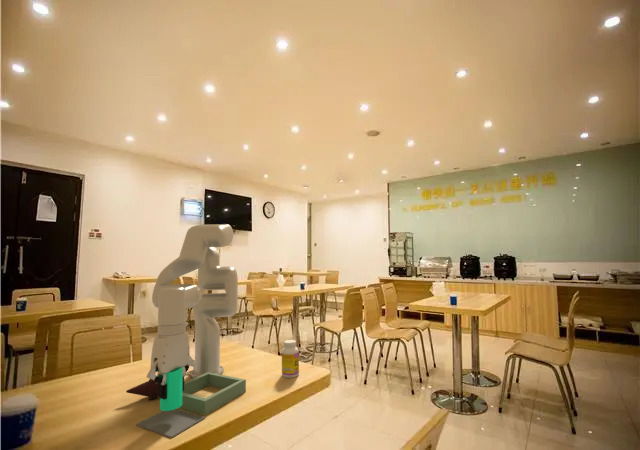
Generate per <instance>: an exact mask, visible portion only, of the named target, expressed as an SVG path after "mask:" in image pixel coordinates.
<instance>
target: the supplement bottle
mask: <svg viewBox="0 0 640 450" xmlns="http://www.w3.org/2000/svg"><path fill="white" fill-rule="evenodd" d="M283 345H284V347H283V348H282V349H281V375H282V377H283V378H287V379H291V378H296V377H298V376H299V374H300V363H299V362H300V358H299V357H300V355H299V352H300V351H299V347H297V341H296V340H295V339H286V340H283Z"/></svg>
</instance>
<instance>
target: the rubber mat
mask: <svg viewBox="0 0 640 450" xmlns="http://www.w3.org/2000/svg"><path fill="white" fill-rule="evenodd" d="M205 418H206V417H205V416H202V415H199V414H196V413H195V414H194V413H192V412H190V411H189V412H188V411H186V410H181V409H180V408H177V409H175V410H170V411H162V410H160V412H158V413H155V414H153V415H151V416H149V417H147V418H145V419H144V420H142V421H140V422H137V423H136V424H135V425H136V427H138V428H139V427H140V428H142V429H145V430H147V431H151V432H153V433H155V434H159V435H161V436H164V437H167V438H169V437H171V438H170V439H173V438H175V437H177V436H178V435H180V434H182V433H183V432H185V431H186V430H188V429H190V428H191V427H193V426H195V425H197V424H199V423H200V422H202V421H204V420H205ZM181 432H182V433H181ZM179 433H180V434H179ZM177 434H178V435H177ZM174 436H175V437H174ZM172 437H173V438H172Z"/></svg>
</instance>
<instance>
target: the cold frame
mask: <svg viewBox="0 0 640 450" xmlns="http://www.w3.org/2000/svg"><path fill="white" fill-rule="evenodd" d="M207 386H209V387H213V388H219V389H220V390H219V391H216V392H215V393H213V394H210V395H208V396H207V397H202V396H198V395H194V394H193V393H195V392H197V391H199V390H202V389H203V388H205V387H207ZM246 392H247V380H246V378H245V379H244V378H239V377H234V376H230V375H225V374H216V373H211V372H207V373H205V374H203V375H200V376H198V377H196V378H192V379H189V380H187V381H184V391H182V406H180V407H179V408H178V409H183V410H184V411H186V410H187V411H189V412H191V413H192V412H193V413H195V414H196V413H197V414H198V415H199V414H200V415H201V416H202V415H203V416H206V415H208V414H210V413H212V412H213V411H215V410H217V409H218V408H220V407H222V406H223V405H225V404H227V403H229V402H231V401H232V400H234V399H235V398H237V397H240V395H242V394H244V393H246Z"/></svg>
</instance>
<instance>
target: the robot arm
mask: <svg viewBox="0 0 640 450" xmlns="http://www.w3.org/2000/svg"><path fill="white" fill-rule="evenodd" d="M233 239H234V230H233V228H232V226H231V225H230V224H227V223H223V224H222V223H221V224H217V223H216V224H209V223H208V224H197V225H193V226H190V228H188V229H187V231H186V234H185V236H184V239H183V244H182V247H181V250H180V253H179V256H178V257H177V258H176V259H174V260H173V261H171V262H170V263H169V264H167V266H165V267H164V268H163V269H162V270H161V271H160V273H159V274H158V276H157V279H156V281H155V284H154V287H153V290H152V295H151V303H152V304H153V306H154V307H155V308H157V336H154V340H153V343H152V350H151V357H150V369H149V371H148V372H147V374H146V378H148V379H149V380H150V379H151V380H153V381H154V382H156V384H158V397H157V398H158V399H160V398H161V399H164V400H165V399H167V384H165V383H166V379H167V373H168V372H171V371H174V370H176V369H179V368H181V367H183V383H182V391H184V382H185V377H186V376H187V373H188V370H189V368H190V367H193V369H192V371H190V377H191V378H192V379H193V378H196V377H198V376H200V375H203V374H205V373H207V372H211V373H216V374H221V375H223V373H224V372H225V371H224V370H225V369H224V368H225V367H224V366H221V361H220V359H221V358H220V357H221V354H220V353H221V351H220V350H221V345H220V344H221V343H220V342H221V340H220V339H221V338H220V336H221V330H220V329H221V328H220V325H219V323H218V322H217V320H216V318H222V317H223V318H226V317H228V318H229V317H233V316H235V315H236V313H237V311H238V296H239V295H238V294H239V293H238V290H239V289H238V288H239V287H238V284H239V282H238V279H239V278H238V273H237V270H236V268H235V267H233V266H221V265H220V262H221V261H220V258H221V256H220V253H219V252H218V250H217V249H216V248H224V247H227V246H229V245H231V243H232V242H233ZM194 271H197V284H195V283H176V284H175V283H173V282H174V281H175V280H176V279H178V278H180V277H182V276H184V275H187V274H189V273H191V272H194ZM172 283H173V284H172ZM220 290H221V291H222V290H223V291H225V292H222V293H219V292H218V293H217V292H214V293H213V292H212V293H202V291H220ZM191 308H192V312H193V316H194V359H193V358H192V356H191V353H190V352H191V351H190V340H189V333H188V331H187V327H189V323H188V322H187V309H191ZM156 373H157V374H156ZM161 375H162V379H161Z"/></svg>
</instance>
